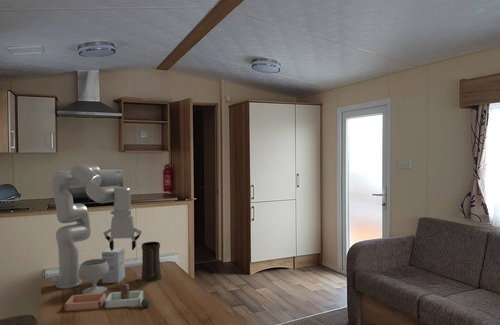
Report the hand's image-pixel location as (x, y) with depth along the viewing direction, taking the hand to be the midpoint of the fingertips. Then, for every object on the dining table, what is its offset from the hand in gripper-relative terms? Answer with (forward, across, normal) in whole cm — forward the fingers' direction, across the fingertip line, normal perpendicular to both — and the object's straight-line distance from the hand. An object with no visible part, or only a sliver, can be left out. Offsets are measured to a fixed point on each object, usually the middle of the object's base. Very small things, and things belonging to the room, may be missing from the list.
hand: (122, 249), depth 182 cm
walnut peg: (+23, +2, -5) cm, 24 cm away
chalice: (+25, -16, +14) cm, 33 cm away
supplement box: (+25, -11, +31) cm, 41 cm away
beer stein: (+24, +10, +27) cm, 38 cm away
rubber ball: (+22, +12, -11) cm, 27 cm away
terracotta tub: (+24, -15, -5) cm, 29 cm away
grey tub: (+24, +2, -5) cm, 24 cm away
